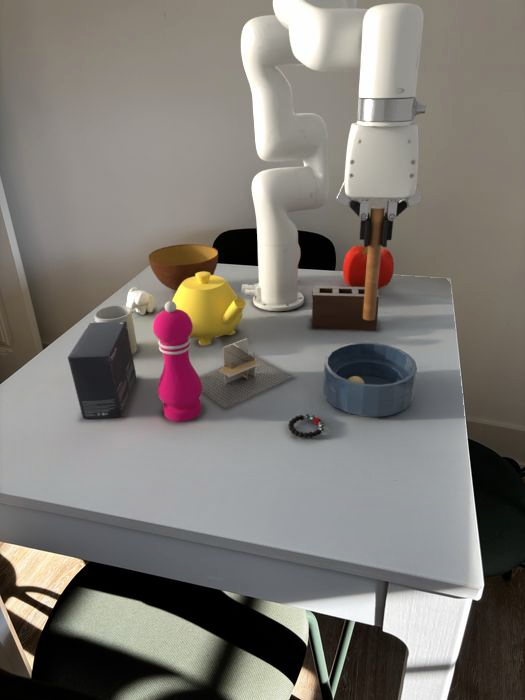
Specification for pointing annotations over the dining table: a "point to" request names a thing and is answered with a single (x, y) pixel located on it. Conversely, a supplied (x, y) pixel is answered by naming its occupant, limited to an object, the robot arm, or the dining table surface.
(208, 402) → the dining table surface
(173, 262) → the bowl
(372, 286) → the stick
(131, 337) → the cup
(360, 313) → the rack
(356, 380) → the dough ball
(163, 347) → the pepper mill
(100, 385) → the small box
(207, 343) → the teapot
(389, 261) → the red bell pepper
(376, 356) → the mixing bowl
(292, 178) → the robot arm
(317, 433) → the bracelet
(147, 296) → the elephant figurine
